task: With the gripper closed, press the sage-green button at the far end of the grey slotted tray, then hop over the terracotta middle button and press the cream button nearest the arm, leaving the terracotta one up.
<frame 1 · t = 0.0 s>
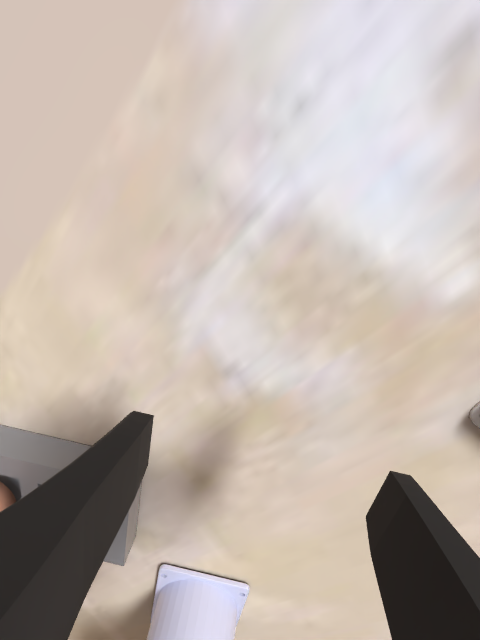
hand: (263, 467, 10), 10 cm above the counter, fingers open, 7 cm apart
grey slotted tray: (11, 469, 26), on the counter
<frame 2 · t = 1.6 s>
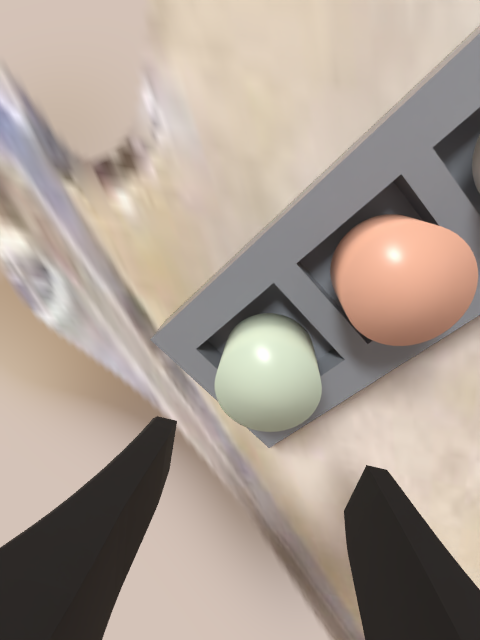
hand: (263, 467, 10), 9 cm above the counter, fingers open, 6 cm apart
button sage: (268, 370, 15), point 4 cm above the counter, slide at 0.0 cm
grey slotted tray: (368, 255, 16), on the counter
button terracotta: (394, 277, 13), point 4 cm above the counter, slide at 0.0 cm
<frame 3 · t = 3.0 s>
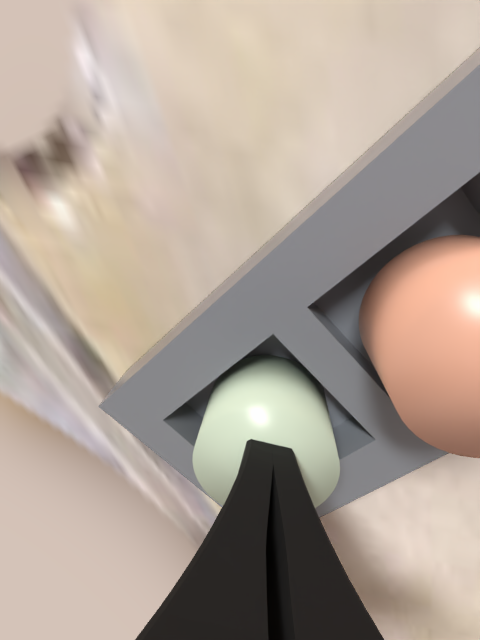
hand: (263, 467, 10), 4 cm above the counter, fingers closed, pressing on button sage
button sage: (266, 433, 11), point 3 cm above the counter, slide at 1.3 cm, touching gripper
grey slotted tray: (409, 288, 11), on the counter
button terracotta: (468, 339, 8), point 4 cm above the counter, slide at 0.0 cm
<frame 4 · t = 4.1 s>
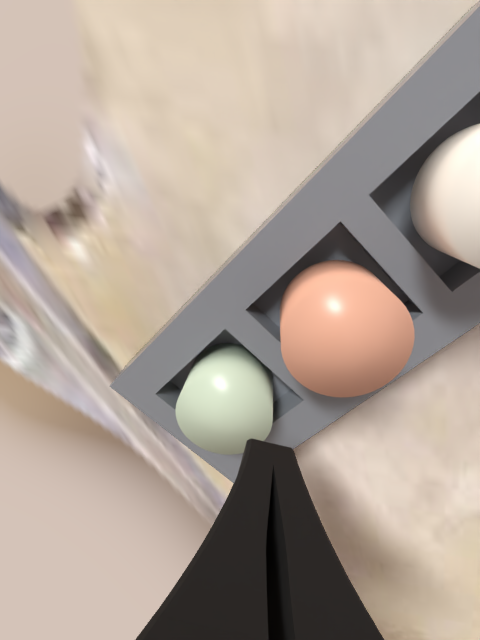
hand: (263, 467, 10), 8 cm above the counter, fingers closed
button sage: (227, 397, 16), point 2 cm above the counter, slide at 1.5 cm
grey slotted tray: (324, 293, 16), on the counter
button terracotta: (338, 325, 13), point 4 cm above the counter, slide at 0.0 cm
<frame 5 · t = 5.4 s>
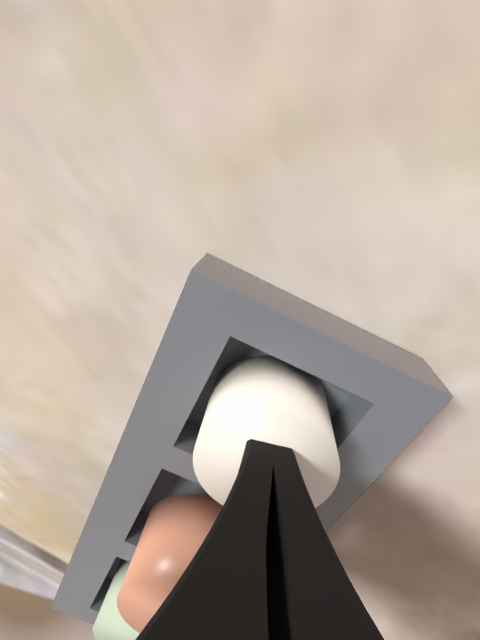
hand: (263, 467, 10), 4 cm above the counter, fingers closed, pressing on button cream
button sage: (150, 602, 17), point 2 cm above the counter, slide at 1.5 cm
grey slotted tray: (208, 483, 16), on the counter
button cream: (266, 433, 11), point 3 cm above the counter, slide at 1.2 cm, touching gripper
button terracotta: (189, 568, 13), point 4 cm above the counter, slide at 0.0 cm
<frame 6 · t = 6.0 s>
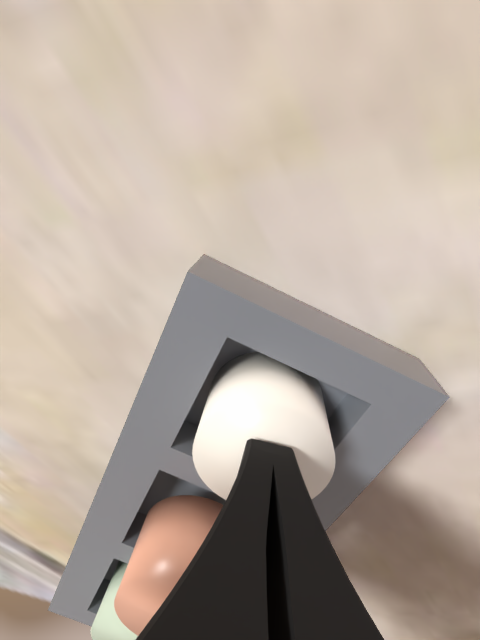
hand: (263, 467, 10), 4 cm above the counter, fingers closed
button sage: (147, 604, 17), point 2 cm above the counter, slide at 1.5 cm
grey slotted tray: (206, 484, 16), on the counter
button cream: (263, 427, 12), point 2 cm above the counter, slide at 1.5 cm
button terracotta: (186, 569, 13), point 4 cm above the counter, slide at 0.0 cm
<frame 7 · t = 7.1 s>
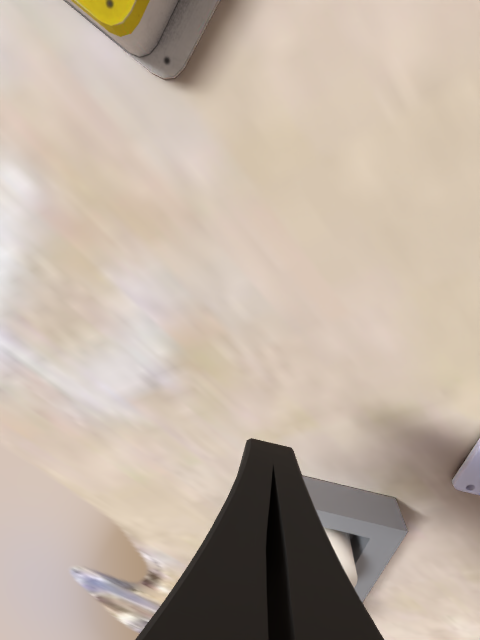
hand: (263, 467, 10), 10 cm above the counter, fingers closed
grey slotted tray: (292, 571, 27), on the counter
button cream: (319, 553, 23), point 2 cm above the counter, slide at 1.5 cm
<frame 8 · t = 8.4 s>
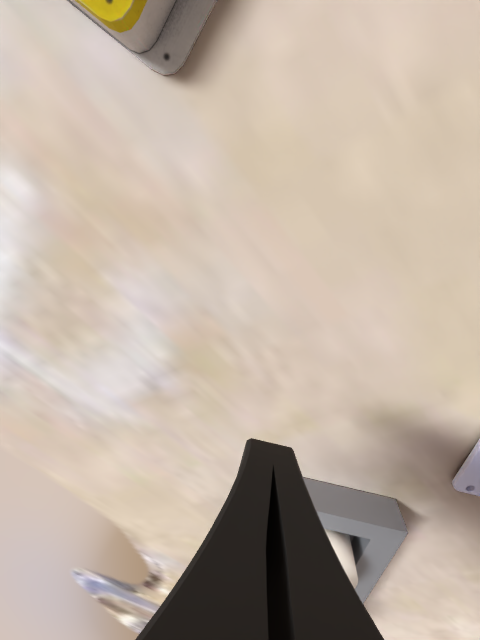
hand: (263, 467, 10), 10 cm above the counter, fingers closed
grey slotted tray: (293, 572, 27), on the counter
button cream: (319, 554, 23), point 2 cm above the counter, slide at 1.5 cm
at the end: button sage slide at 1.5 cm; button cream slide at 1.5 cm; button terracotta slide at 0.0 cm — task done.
